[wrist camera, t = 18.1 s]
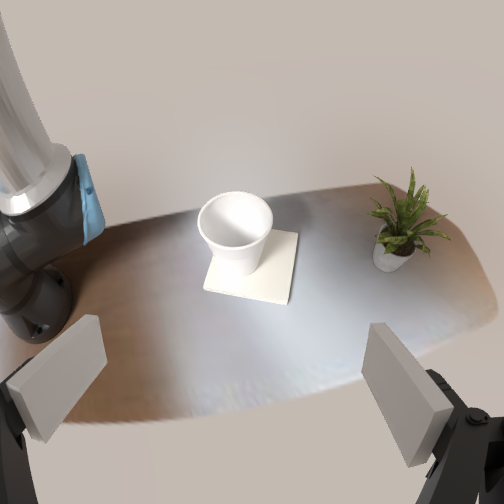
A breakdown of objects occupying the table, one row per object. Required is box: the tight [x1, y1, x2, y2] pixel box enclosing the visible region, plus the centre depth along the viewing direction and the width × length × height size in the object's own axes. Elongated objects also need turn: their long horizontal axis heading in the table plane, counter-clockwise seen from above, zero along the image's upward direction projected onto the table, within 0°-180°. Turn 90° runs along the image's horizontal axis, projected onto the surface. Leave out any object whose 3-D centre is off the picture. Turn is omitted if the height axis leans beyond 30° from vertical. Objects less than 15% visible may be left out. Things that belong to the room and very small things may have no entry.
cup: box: [198, 191, 273, 278], centre depth 45 cm, size 10×10×11 cm
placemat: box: [203, 229, 298, 305], centre depth 50 cm, size 13×13×1 cm
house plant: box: [368, 168, 451, 273], centre depth 44 cm, size 14×14×16 cm
